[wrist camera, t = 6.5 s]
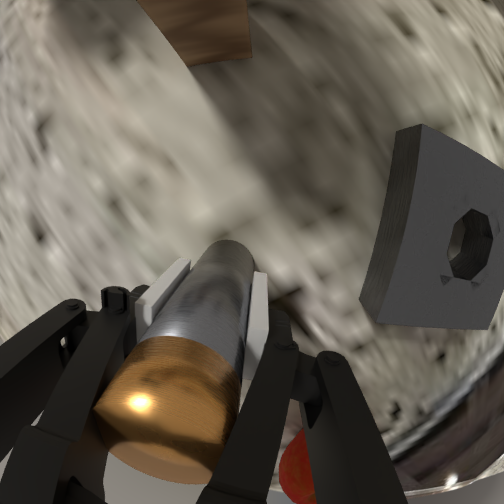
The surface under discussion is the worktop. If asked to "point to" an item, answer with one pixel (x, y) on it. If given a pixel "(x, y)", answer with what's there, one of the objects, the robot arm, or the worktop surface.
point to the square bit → (203, 28)
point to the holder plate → (437, 236)
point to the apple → (297, 472)
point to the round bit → (184, 374)
